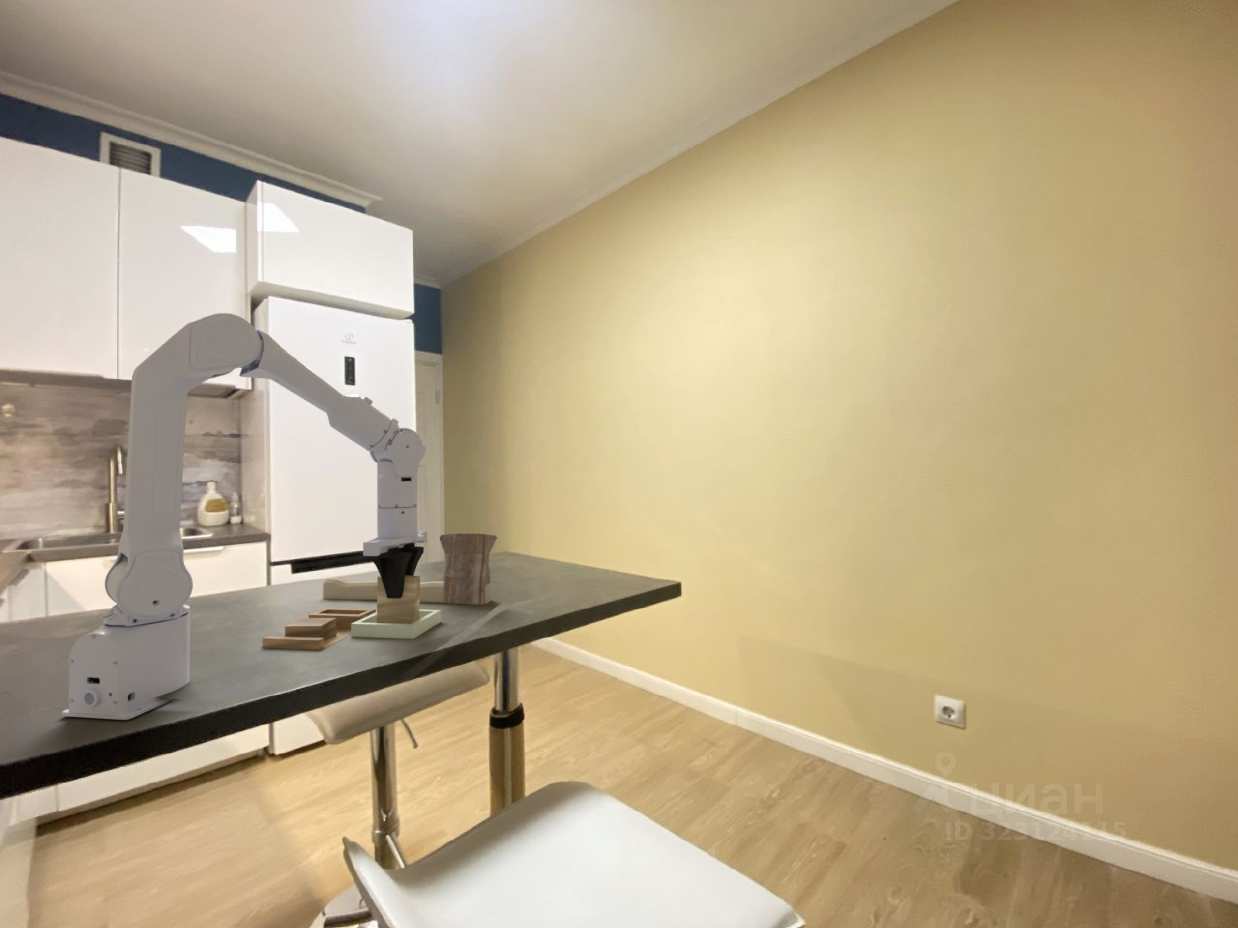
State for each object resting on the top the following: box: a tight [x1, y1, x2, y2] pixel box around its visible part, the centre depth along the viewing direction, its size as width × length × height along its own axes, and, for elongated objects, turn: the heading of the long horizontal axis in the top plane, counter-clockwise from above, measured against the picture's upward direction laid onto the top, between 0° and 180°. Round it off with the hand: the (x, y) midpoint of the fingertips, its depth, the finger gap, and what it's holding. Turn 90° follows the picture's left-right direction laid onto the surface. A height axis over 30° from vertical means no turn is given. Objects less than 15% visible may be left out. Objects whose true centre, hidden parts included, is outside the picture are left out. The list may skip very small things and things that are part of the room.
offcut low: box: [284, 627, 337, 641], centre depth 76 cm, size 4×5×1 cm
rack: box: [261, 607, 377, 650], centre depth 79 cm, size 14×9×3 cm, turn 173°
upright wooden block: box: [376, 575, 421, 624], centre depth 81 cm, size 2×6×8 cm, turn 83°
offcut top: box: [284, 617, 336, 636], centre depth 76 cm, size 4×5×1 cm
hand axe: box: [322, 533, 498, 605], centre depth 99 cm, size 35×3×14 cm, turn 81°
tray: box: [350, 608, 442, 640], centre depth 81 cm, size 9×10×3 cm
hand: (398, 596), depth 81 cm, fingers closed on upright wooden block, 1 cm apart
